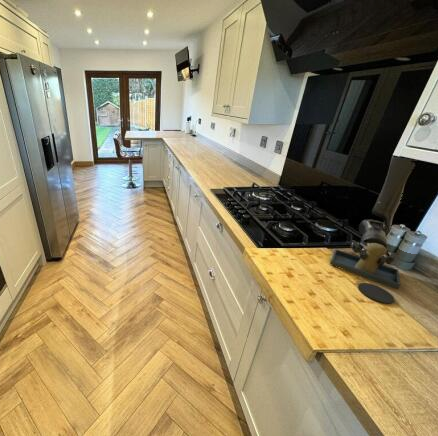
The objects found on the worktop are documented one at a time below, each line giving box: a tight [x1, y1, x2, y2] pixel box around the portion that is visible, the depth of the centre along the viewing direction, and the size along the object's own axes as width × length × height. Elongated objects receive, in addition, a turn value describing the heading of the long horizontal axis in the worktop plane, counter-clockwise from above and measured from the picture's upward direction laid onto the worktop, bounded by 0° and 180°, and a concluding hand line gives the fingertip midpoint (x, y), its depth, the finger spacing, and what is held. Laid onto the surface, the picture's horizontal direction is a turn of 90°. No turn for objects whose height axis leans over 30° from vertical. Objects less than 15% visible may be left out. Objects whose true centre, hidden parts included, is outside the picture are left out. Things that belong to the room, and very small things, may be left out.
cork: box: [355, 243, 388, 275], centre depth 86 cm, size 6×6×11 cm
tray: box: [329, 248, 401, 290], centre depth 89 cm, size 19×11×2 cm, turn 48°
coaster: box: [357, 282, 395, 305], centre depth 77 cm, size 9×9×1 cm
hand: (372, 260), depth 83 cm, fingers closed on cork, 4 cm apart
